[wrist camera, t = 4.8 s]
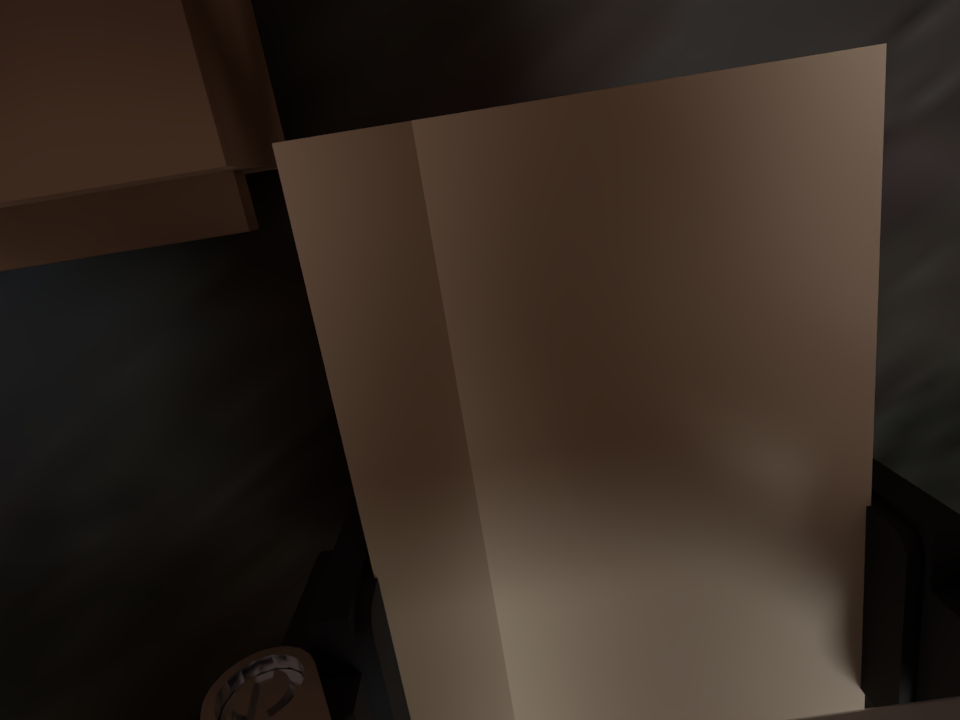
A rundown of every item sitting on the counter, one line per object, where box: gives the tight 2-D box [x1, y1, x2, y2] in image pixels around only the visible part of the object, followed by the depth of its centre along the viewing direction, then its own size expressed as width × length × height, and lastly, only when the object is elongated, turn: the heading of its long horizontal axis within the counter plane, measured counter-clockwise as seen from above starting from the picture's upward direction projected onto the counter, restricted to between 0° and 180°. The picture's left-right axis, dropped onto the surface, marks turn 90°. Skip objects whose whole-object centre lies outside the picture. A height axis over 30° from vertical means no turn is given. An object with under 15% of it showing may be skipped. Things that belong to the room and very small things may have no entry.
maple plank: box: [272, 44, 886, 720], centre depth 10 cm, size 6×14×4 cm, turn 9°
